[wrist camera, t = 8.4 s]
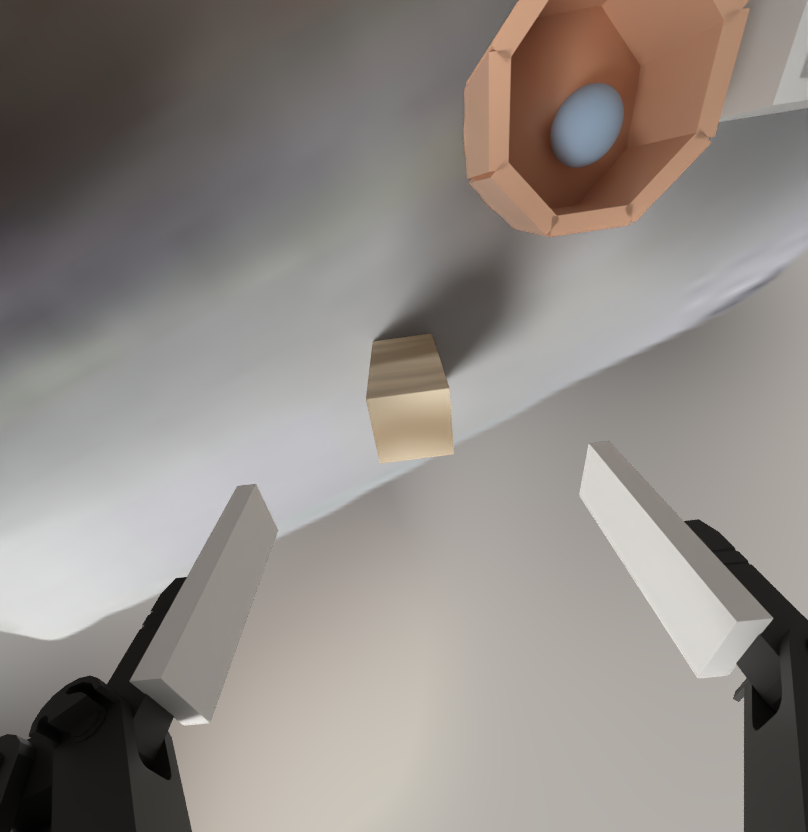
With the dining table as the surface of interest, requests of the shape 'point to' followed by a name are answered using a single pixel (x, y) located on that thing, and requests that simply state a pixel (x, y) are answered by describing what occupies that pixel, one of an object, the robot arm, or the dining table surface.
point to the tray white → (770, 61)
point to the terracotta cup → (584, 64)
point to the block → (409, 400)
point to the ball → (586, 125)
